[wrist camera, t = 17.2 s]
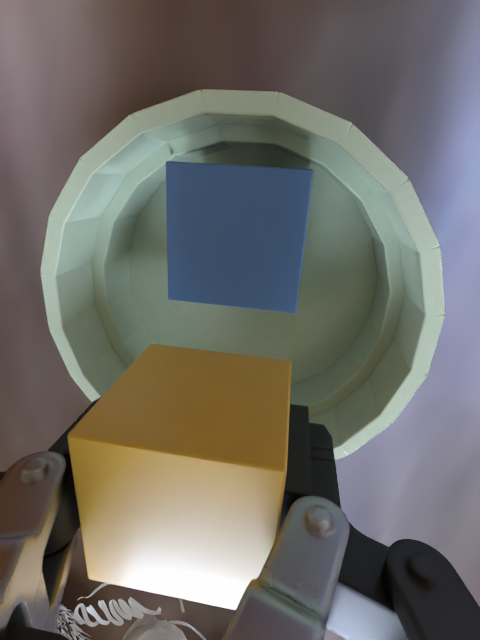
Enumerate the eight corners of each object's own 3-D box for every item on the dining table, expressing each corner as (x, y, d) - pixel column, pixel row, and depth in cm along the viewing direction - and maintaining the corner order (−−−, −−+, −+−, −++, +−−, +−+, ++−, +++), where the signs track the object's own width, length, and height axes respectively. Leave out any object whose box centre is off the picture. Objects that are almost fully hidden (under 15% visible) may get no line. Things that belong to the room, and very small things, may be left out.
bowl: (102, 112, 16) (9, 81, 11) (434, 127, 14) (509, 98, 9) (122, 383, 21) (66, 449, 16) (367, 417, 19) (391, 502, 14)
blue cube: (201, 165, 15) (164, 160, 11) (310, 171, 15) (313, 169, 11) (200, 270, 17) (167, 300, 13) (297, 279, 17) (296, 314, 12)
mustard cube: (150, 342, 12) (65, 434, 7) (292, 359, 11) (287, 470, 7) (154, 453, 13) (87, 580, 9) (277, 474, 13) (266, 618, 9)
